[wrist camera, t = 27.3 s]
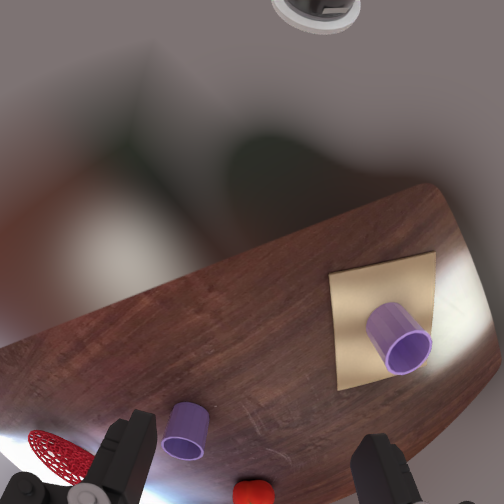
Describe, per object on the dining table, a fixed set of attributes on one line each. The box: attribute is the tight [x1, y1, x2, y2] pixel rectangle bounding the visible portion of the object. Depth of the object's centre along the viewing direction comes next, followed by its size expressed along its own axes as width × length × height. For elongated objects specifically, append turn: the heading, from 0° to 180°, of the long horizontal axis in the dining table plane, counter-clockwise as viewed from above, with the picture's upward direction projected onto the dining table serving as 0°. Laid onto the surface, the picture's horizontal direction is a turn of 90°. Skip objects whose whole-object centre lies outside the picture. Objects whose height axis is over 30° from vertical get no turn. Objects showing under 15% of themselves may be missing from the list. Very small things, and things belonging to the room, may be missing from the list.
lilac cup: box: [161, 402, 210, 460], centre depth 41 cm, size 7×7×8 cm
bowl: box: [28, 430, 95, 485], centre depth 50 cm, size 29×30×5 cm
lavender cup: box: [366, 302, 432, 375], centre depth 34 cm, size 7×7×8 cm
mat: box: [328, 251, 436, 391], centre depth 39 cm, size 20×16×1 cm
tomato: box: [233, 480, 275, 504], centre depth 47 cm, size 9×9×8 cm
